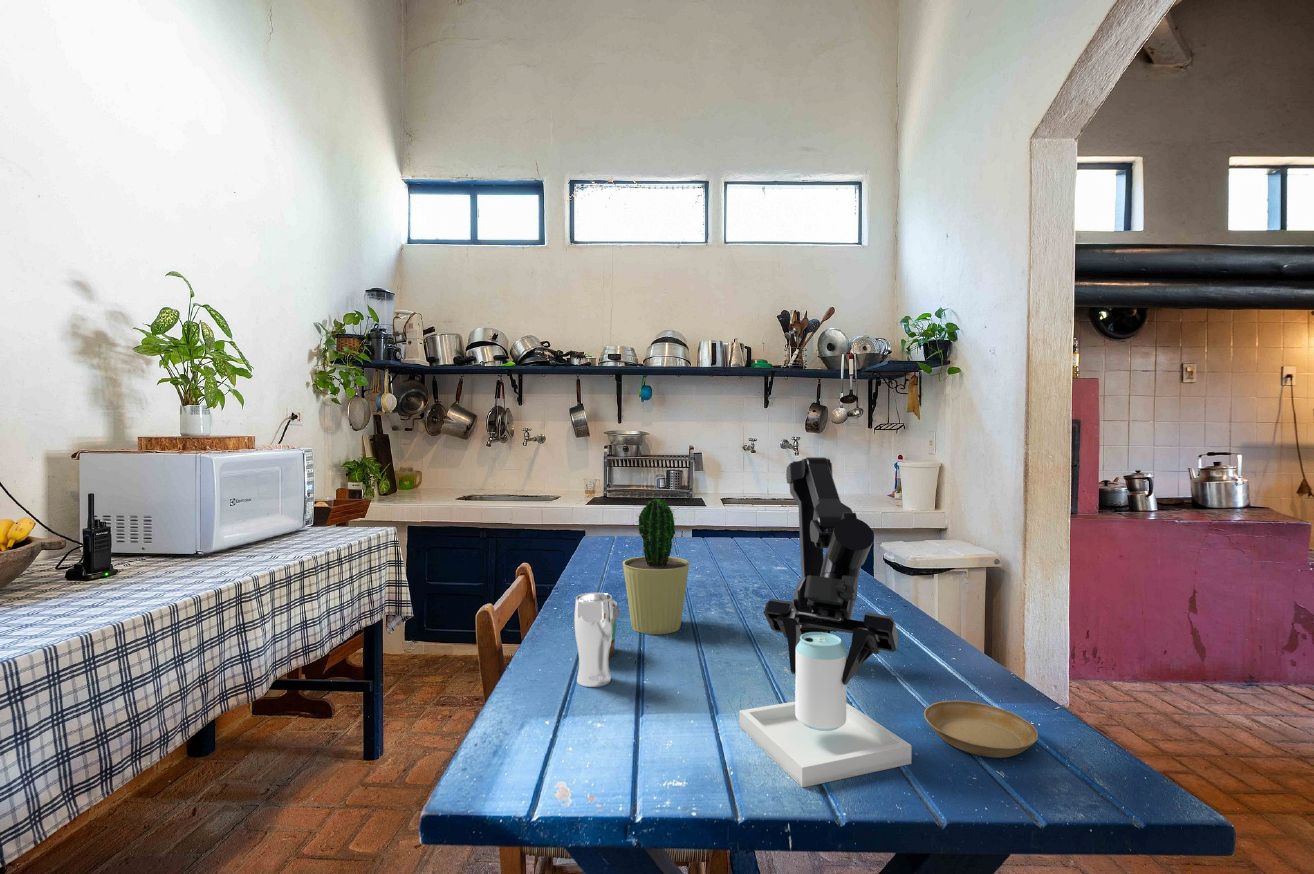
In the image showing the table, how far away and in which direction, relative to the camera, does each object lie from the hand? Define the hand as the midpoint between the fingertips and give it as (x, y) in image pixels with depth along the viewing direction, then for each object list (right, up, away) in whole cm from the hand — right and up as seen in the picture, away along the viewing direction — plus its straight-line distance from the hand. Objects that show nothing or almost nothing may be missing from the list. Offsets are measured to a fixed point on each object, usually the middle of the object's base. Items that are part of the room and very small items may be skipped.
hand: (817, 678), depth 87 cm
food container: (-33, -10, +37) cm, 51 cm away
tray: (+1, -10, +1) cm, 10 cm away
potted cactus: (-23, -10, +55) cm, 61 cm away
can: (+1, -7, +1) cm, 7 cm away
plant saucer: (+24, -10, +3) cm, 27 cm away
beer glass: (-34, -10, +24) cm, 43 cm away
